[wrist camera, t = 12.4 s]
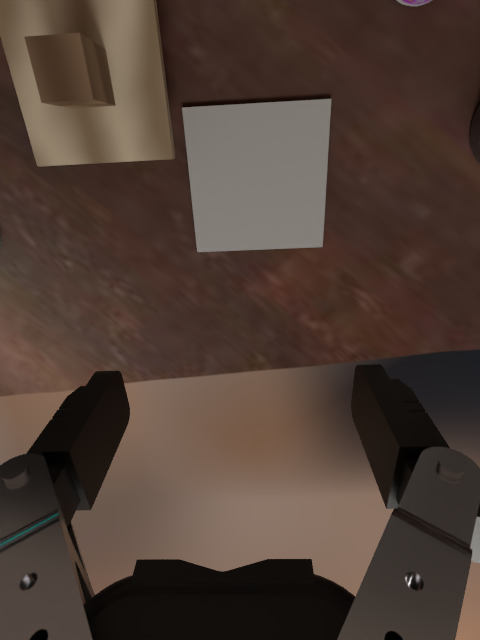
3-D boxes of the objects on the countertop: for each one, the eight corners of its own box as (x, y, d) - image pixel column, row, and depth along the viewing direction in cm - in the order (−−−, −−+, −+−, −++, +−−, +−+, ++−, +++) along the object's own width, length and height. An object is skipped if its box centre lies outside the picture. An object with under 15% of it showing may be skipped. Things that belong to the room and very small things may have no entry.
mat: (330, 99, 35) (331, 98, 35) (322, 246, 42) (322, 247, 42) (182, 107, 36) (182, 107, 36) (197, 251, 43) (197, 252, 42)
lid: (153, -23, 28) (130, -62, 22) (175, 158, 34) (161, 161, 28) (-6, -10, 28) (-66, -45, 23) (43, 165, 34) (4, 170, 29)
